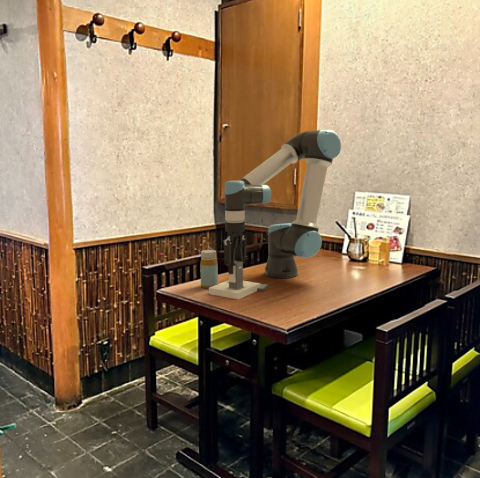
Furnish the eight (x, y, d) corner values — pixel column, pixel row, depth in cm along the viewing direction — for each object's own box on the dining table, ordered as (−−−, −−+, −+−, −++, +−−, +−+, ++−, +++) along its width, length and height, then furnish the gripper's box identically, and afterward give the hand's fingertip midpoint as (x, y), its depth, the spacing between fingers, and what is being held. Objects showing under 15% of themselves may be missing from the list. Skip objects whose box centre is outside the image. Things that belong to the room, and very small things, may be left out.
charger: (234, 285, 195) (234, 260, 193) (243, 286, 193) (243, 261, 191) (228, 287, 192) (228, 262, 190) (237, 288, 189) (237, 263, 188)
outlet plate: (232, 284, 206) (232, 278, 206) (260, 289, 198) (260, 283, 198) (208, 294, 193) (208, 287, 193) (238, 299, 185) (238, 292, 185)
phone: (260, 286, 203) (260, 283, 203) (268, 286, 202) (268, 284, 202) (255, 290, 196) (255, 288, 196) (263, 291, 195) (263, 288, 195)
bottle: (210, 283, 209) (209, 248, 206) (221, 286, 204) (220, 251, 201) (197, 286, 204) (196, 251, 201) (208, 289, 199) (207, 253, 196)
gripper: (239, 218, 197) (240, 274, 201) (213, 223, 183) (214, 284, 187) (255, 219, 193) (255, 277, 197) (230, 224, 179) (231, 286, 183)
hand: (235, 280), depth 192 cm, fingers closed on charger, 4 cm apart
